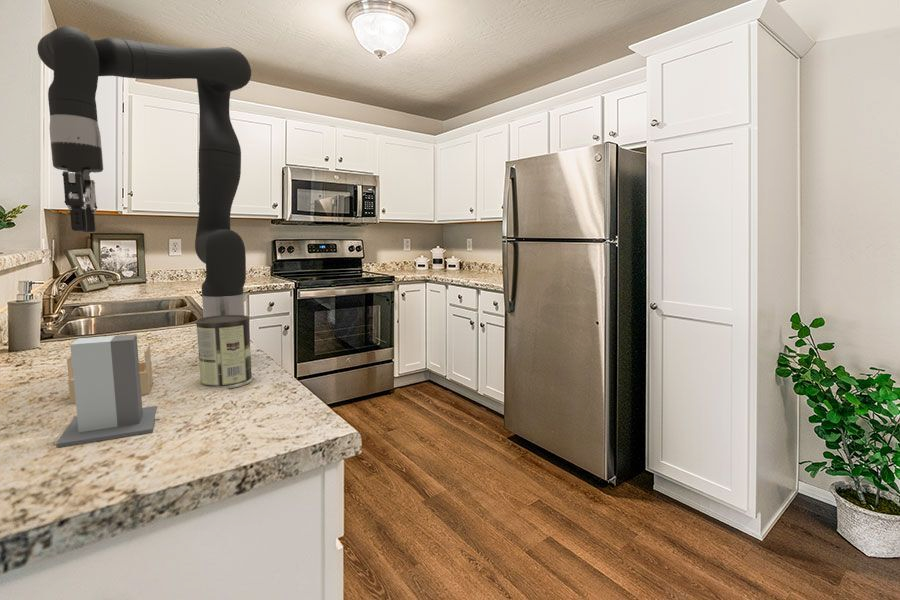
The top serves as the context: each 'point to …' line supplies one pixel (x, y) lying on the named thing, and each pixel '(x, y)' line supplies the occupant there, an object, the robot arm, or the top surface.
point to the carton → (144, 370)
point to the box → (106, 382)
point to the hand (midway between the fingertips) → (84, 231)
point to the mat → (108, 430)
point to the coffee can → (224, 351)
